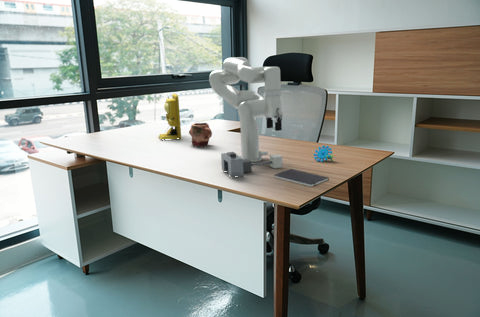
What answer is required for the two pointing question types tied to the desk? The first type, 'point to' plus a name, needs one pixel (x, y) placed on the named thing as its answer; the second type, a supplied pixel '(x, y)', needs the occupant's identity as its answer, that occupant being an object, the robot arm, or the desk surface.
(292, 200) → the desk surface
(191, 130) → the decorative planter
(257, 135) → the robot arm
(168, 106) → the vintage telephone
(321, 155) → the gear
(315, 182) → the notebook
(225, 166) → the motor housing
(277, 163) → the plug
